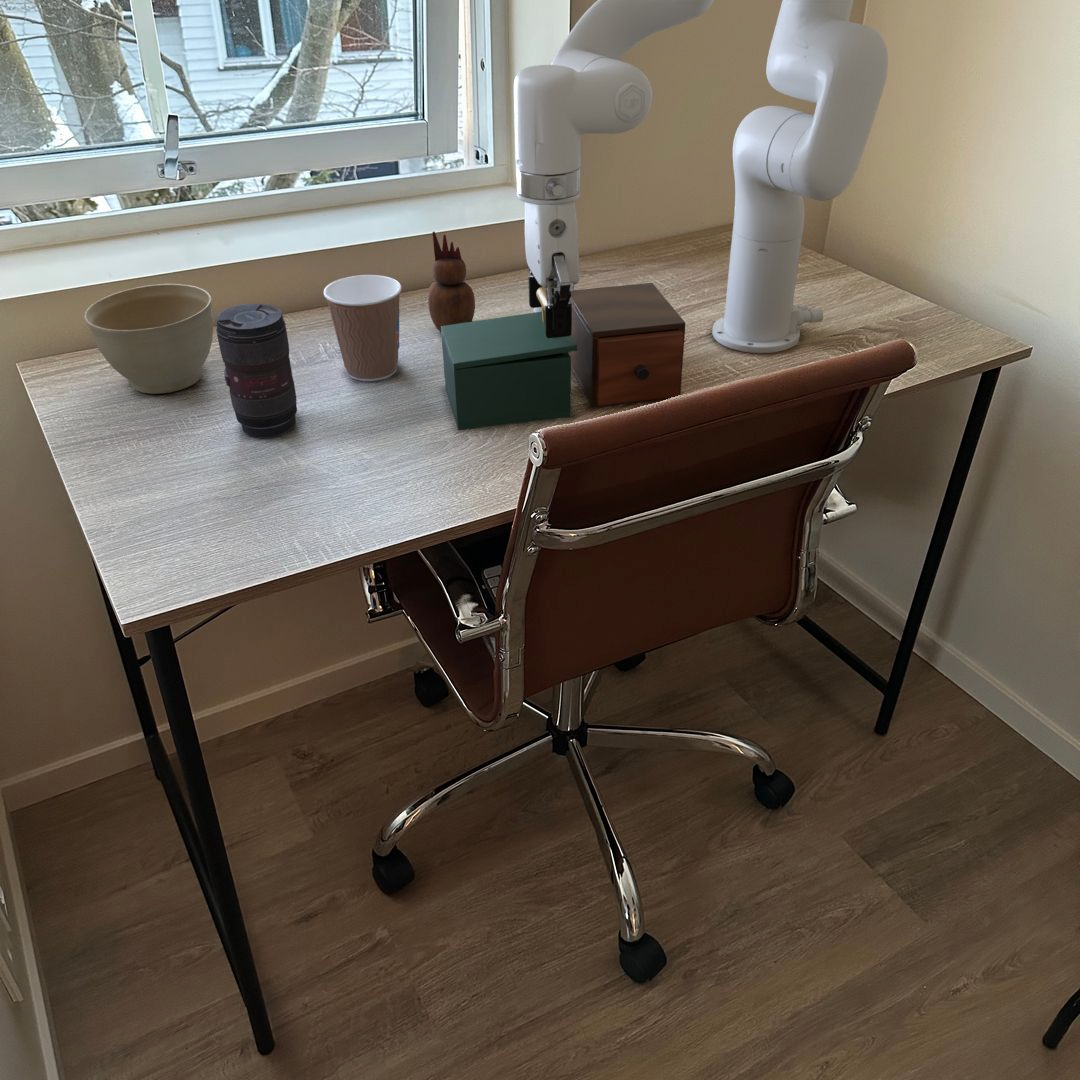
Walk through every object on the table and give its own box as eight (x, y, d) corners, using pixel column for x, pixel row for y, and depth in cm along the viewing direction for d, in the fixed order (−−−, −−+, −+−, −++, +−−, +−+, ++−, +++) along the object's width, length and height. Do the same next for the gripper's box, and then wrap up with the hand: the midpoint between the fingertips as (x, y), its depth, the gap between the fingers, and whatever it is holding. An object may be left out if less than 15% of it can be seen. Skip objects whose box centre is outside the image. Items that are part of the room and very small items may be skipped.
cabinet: (680, 398, 135) (685, 322, 128) (591, 408, 133) (592, 332, 126) (648, 353, 146) (652, 282, 140) (566, 362, 144) (566, 290, 138)
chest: (551, 378, 140) (550, 321, 135) (570, 417, 131) (571, 357, 126) (445, 389, 138) (441, 332, 133) (458, 430, 128) (453, 370, 123)
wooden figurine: (424, 334, 152) (415, 235, 144) (441, 320, 157) (434, 222, 148) (465, 341, 150) (459, 240, 142) (481, 326, 155) (476, 227, 146)
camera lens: (270, 447, 125) (248, 334, 117) (223, 431, 129) (198, 319, 120) (315, 420, 131) (297, 310, 122) (269, 405, 134) (248, 297, 126)
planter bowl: (222, 348, 150) (207, 276, 143) (231, 395, 137) (214, 319, 131) (106, 364, 146) (85, 291, 139) (104, 415, 133) (81, 337, 127)
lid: (556, 314, 135) (554, 275, 132) (577, 350, 126) (575, 309, 122) (441, 331, 133) (436, 292, 130) (454, 369, 123) (448, 328, 120)
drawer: (682, 400, 132) (686, 337, 127) (600, 410, 130) (602, 346, 125) (649, 355, 143) (652, 295, 138) (574, 363, 142) (574, 302, 137)
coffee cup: (423, 373, 142) (415, 290, 135) (357, 394, 137) (346, 309, 130) (385, 348, 148) (376, 268, 142) (321, 368, 143) (309, 286, 137)
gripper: (598, 202, 113) (595, 345, 122) (562, 161, 126) (563, 293, 136) (531, 207, 111) (534, 352, 121) (503, 165, 125) (507, 298, 135)
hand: (549, 320), depth 129 cm, fingers open, 9 cm apart
